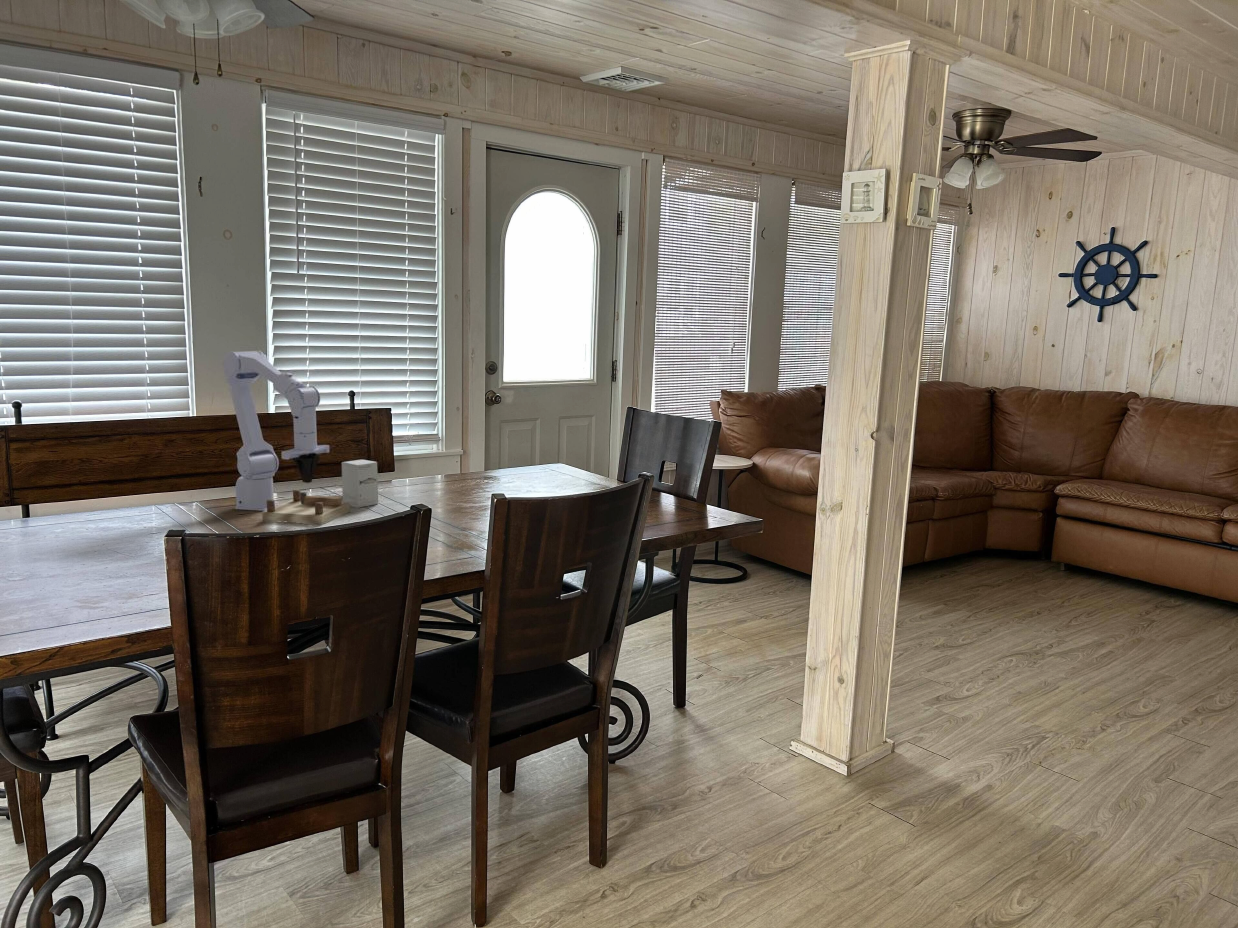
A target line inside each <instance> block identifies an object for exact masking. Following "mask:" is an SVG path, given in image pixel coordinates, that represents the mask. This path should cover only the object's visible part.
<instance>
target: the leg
mask: <svg viewBox="0 0 1238 928" xmlns="http://www.w3.org/2000/svg"><path fill="white" fill-rule="evenodd" d="M300 495H301V504H310V505H315V503H316V502H322V503H323V505H329V506H339V505H341V504H342V502H341V497H327V496H325V495H323V496H318V495H308V494H307V492H306V491H300Z"/></svg>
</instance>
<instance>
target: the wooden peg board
mask: <svg viewBox="0 0 1238 928" xmlns="http://www.w3.org/2000/svg"><path fill="white" fill-rule="evenodd" d="M300 493H301V489H293V490H292V499H290V500H288V501H285V502H283V503H280V505H278V506H276V507H275V503H276V502H275V501H276V500H275V499H274V500H267V510H266V511H261V514H262V522H269V521H287V522H296V523H295V524H300V523H303V524H304V525H316V526H317V525H318V526H319V525H320V526H322V525H321V524H323V525H325V524H327V523H329V522H331V521H333V520H335V519H338V518H339V517H341V516H343V515H345V514H347V513H350V511H351V510H350V509H351V508H350V507H351V506H350V503H345V502H343V495H331V494H330V495H327V496H326V497H341V502H342V504H341V505H339V506H329V505H323V503H322V502H316V503H315V505H310V504H301V495H300ZM303 524H302V525H303Z"/></svg>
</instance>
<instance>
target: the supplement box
mask: <svg viewBox="0 0 1238 928" xmlns="http://www.w3.org/2000/svg"><path fill="white" fill-rule="evenodd" d="M378 475H379V474H378V462H377V461H373V460H367V459H356V460H348V461H342V462H341V481H342V482H341V483H342V485H341V487H342V490H341V491H342V496H343V502H345V503H350V507H352V508H356V509H359V508H362V507H368V506H375V505H378V504H379V488H378V487H379V486H378V483H379V482H378V480H379V479H378V478H379V477H378Z"/></svg>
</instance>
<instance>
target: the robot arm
mask: <svg viewBox="0 0 1238 928" xmlns="http://www.w3.org/2000/svg"><path fill="white" fill-rule="evenodd" d="M221 364H222V369H223V372H224V377H225V381H226V383H227V384H228V388H229V392H230V396H231V400H232V404H233V407H234V411H235V415H236V421H237V423H238V427H239V432H240V436H241V440H242V443H243V445H242V446H241V447H240V448H239V449H238V451H237V452H236V457H237V463H236V464H237V471H238V472H239V474H240V475H241V476H240V477H238V478H237V480H236V483H235V499H236V500H235V501H236V507H234V509H235V510H242V511H243V510H244V511H245V510H247V511H261V512H263V511H266V510H267V500H275V499H274V479H273V477H274V476H276V475H275V474H276V472H277V471H278V469H279V466H280V465H279V464H280V463H279V462H280V461H279V458H278V456H277V454H276V453H275V450H274V447H273V445H271V444H269V443H268V442H267V441H265V440H264V438H263V434H262V428H261V426H260V422H259V418H258V413H257V409H256V406H255V401H254V398H253V392H252V389H251V386H252V384H253V383H254V382H256V381H257V380H258V378H260V377H263V379H265V380H267V381H268V382H271V383H272V387H273V389H274V390H275V391H276V392H277V393H278V394H280V395H281V396H282V397H283V398H285V399H286V400H287V404H288V406H289V407H290V413H291V415H292V418H293V419H292V421H293V440H294V441H293V443H294V444H293V445H294V448H291V449H287V450H284V451H281V459H282V460H290V459H292V461H293V462H294V464H295V465H296V467H297V469H298V471H299V474H300V477H301V480H302V483H306V484H310V483H312V482H313V476H314V474H315V469H316V467H317V466H318V463H319V461H320V459H321V457H320V455H319V454H323V453H325V454H328V453H330V445H329V444H321V445H318V437H317V413H316V412H317V411H316V410H317V408H318V406H319V405H320V403H321V394H320V392H319V390H318V389H317V387H316V386H314V385H309V386H307V385H305V384H304V383H303V382H302V381H299V380H298V379H297V378H295V377H294V376H293V374H292V373H291V372H281V371H279V370H278V368H276V367H275V366H274V365H273V364H272V363H271V362H270V361H268V358H267V355H266V354H264V353H263V352H262V350H259V349H258V350H252V351H251V350H250V351H249V350H248V351H228V352H226V353H225V356H224V357H223V361H222V362H221ZM278 505H281V503H277V502H275V507H276V506H278Z"/></svg>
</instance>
